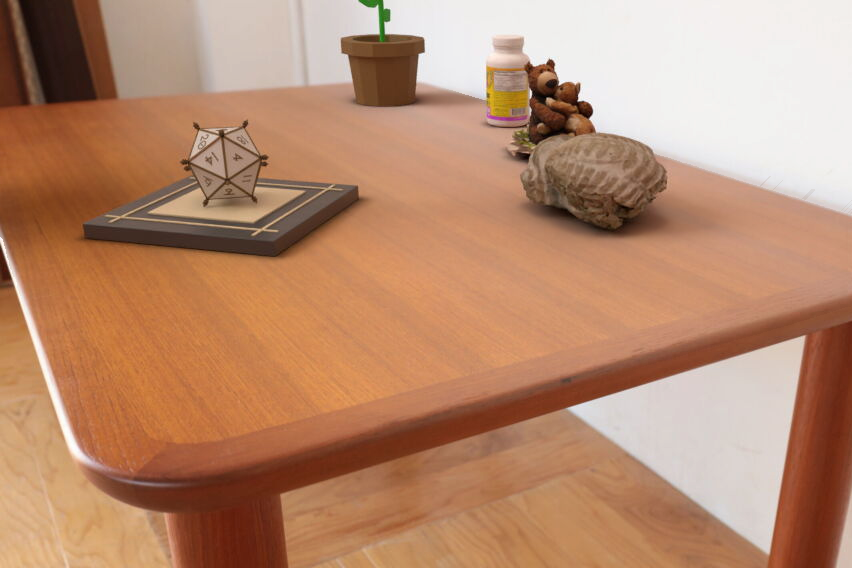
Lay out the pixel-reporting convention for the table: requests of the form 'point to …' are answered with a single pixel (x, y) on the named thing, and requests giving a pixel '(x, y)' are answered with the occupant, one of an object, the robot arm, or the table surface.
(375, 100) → the flowerpot
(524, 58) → the supplement bottle
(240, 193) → the game die
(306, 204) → the game board
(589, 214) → the fossil
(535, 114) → the bear figurine
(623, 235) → the table surface
